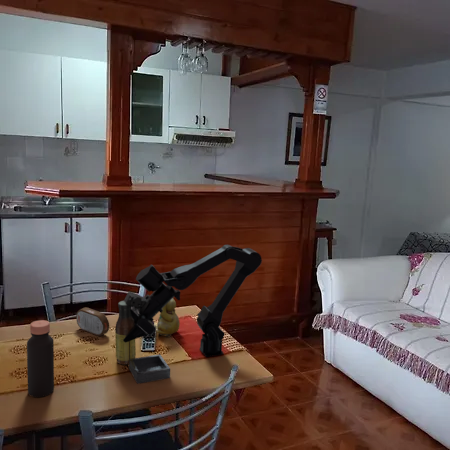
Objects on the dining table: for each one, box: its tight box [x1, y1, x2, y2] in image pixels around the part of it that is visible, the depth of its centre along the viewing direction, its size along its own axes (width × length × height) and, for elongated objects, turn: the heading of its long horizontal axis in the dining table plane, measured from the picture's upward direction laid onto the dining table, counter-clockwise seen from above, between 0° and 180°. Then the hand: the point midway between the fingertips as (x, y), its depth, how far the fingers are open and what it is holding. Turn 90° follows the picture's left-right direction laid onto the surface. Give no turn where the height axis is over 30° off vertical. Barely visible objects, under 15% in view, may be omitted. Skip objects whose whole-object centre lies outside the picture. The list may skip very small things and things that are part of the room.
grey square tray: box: [128, 354, 171, 384], centre depth 144 cm, size 10×10×3 cm
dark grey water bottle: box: [26, 319, 55, 398], centre depth 129 cm, size 7×7×20 cm
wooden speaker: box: [75, 306, 110, 337], centre depth 170 cm, size 15×3×8 cm, turn 58°
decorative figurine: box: [156, 298, 181, 337], centre depth 173 cm, size 10×8×15 cm
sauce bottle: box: [114, 300, 137, 366], centre depth 149 cm, size 6×6×20 cm
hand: (122, 335), depth 148 cm, fingers open, 9 cm apart
